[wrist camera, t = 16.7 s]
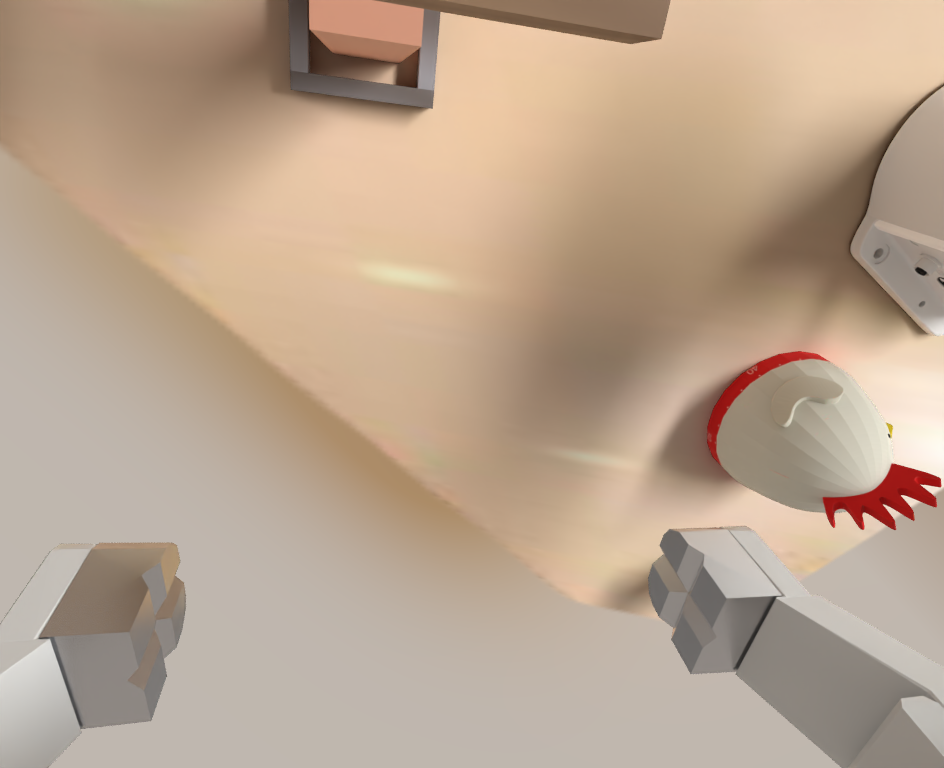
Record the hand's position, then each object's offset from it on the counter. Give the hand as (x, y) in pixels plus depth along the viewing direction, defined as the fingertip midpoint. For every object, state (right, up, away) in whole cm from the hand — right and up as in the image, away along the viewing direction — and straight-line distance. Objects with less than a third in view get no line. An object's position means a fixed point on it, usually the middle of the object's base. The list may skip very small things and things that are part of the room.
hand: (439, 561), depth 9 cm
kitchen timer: (+30, 0, +44) cm, 53 cm away
